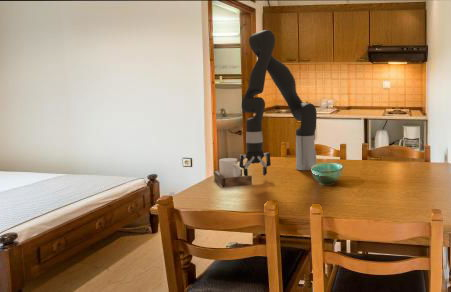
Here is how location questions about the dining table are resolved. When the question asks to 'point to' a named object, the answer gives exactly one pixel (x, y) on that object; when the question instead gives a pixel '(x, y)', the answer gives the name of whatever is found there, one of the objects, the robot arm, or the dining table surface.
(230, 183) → the tray
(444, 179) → the dining table surface
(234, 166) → the mug
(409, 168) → the dining table surface
